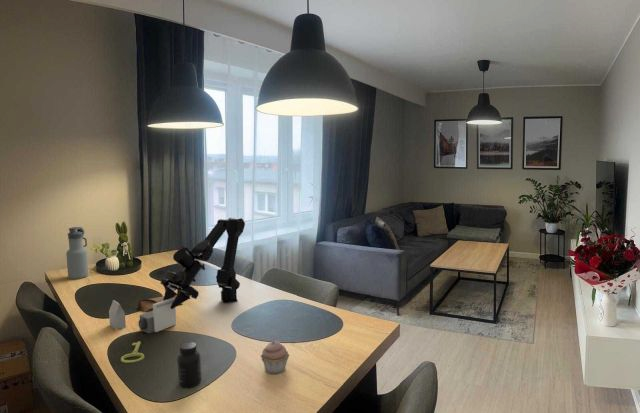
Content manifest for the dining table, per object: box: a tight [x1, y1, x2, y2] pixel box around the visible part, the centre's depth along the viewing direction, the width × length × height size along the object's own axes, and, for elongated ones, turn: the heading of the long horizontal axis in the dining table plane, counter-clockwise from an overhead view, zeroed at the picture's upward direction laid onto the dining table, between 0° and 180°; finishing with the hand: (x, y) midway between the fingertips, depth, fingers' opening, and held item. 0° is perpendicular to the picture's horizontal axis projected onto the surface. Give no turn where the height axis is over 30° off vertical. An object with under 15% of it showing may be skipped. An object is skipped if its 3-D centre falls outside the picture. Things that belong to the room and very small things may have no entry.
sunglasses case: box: [138, 294, 184, 314], centre depth 187 cm, size 18×7×7 cm, turn 125°
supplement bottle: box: [176, 341, 203, 389], centre depth 124 cm, size 7×7×12 cm
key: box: [120, 341, 145, 364], centre depth 142 cm, size 7×12×2 cm, turn 30°
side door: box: [153, 298, 177, 333], centre depth 162 cm, size 9×2×11 cm, turn 144°
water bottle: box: [66, 226, 89, 280], centre depth 227 cm, size 10×10×28 cm
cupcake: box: [260, 339, 290, 375], centre depth 132 cm, size 9×9×10 cm
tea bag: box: [108, 299, 127, 331], centre depth 164 cm, size 4×7×10 cm, turn 46°
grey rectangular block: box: [137, 311, 155, 334], centre depth 163 cm, size 11×6×6 cm, turn 144°
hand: (166, 306), depth 162 cm, fingers open, 5 cm apart
